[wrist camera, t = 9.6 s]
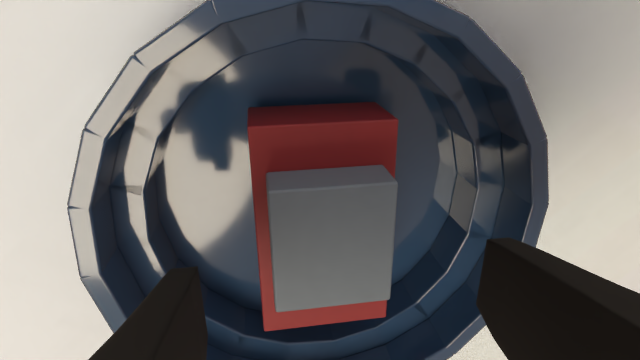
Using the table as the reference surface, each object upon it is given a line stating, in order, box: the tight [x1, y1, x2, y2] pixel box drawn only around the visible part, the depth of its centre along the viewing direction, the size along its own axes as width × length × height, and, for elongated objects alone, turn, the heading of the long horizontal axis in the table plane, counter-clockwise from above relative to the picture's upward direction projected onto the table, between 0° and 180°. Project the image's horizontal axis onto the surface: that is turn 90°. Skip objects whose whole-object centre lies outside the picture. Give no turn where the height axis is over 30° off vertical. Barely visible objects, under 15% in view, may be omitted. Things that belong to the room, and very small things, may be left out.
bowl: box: [67, 0, 549, 360], centre depth 14 cm, size 14×14×4 cm
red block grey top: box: [247, 102, 398, 331], centre depth 13 cm, size 4×7×4 cm, turn 1°
